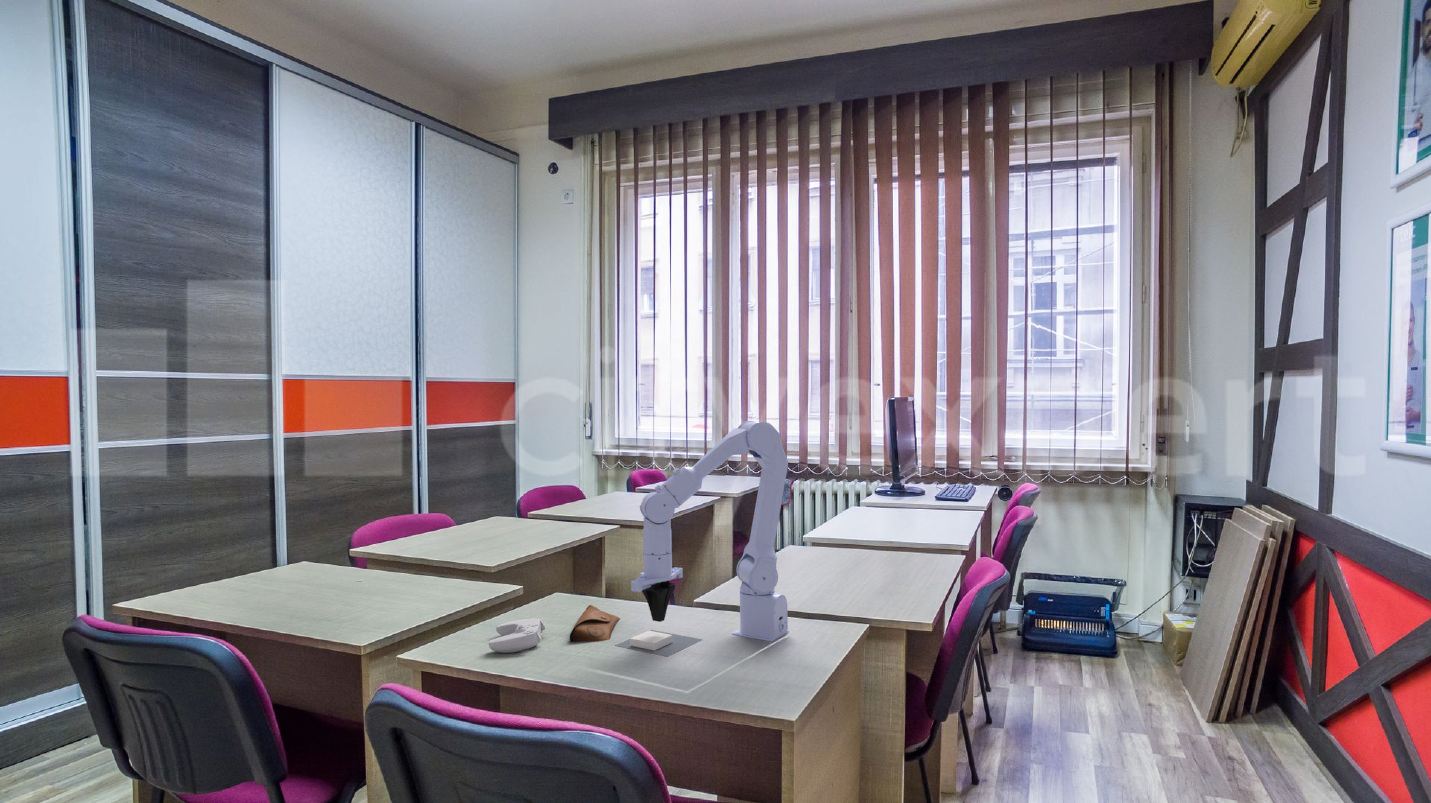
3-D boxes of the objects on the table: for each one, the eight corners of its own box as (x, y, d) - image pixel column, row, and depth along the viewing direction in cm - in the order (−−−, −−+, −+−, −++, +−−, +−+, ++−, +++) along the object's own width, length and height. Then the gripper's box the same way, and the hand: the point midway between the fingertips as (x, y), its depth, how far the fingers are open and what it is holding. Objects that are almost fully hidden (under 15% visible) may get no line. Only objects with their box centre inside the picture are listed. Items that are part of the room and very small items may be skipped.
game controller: (496, 620, 162) (543, 607, 163) (501, 640, 162) (548, 627, 163) (484, 640, 147) (536, 627, 149) (490, 663, 148) (541, 649, 149)
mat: (703, 641, 155) (702, 639, 155) (667, 658, 145) (667, 656, 145) (651, 631, 162) (651, 629, 162) (614, 647, 152) (614, 645, 152)
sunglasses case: (611, 643, 154) (594, 614, 154) (581, 661, 154) (564, 633, 154) (622, 618, 172) (606, 592, 172) (595, 634, 172) (579, 609, 172)
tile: (672, 634, 153) (654, 643, 148) (672, 642, 153) (654, 651, 148) (648, 630, 156) (630, 638, 151) (648, 637, 156) (630, 646, 151)
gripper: (663, 544, 162) (663, 609, 162) (618, 556, 150) (619, 626, 150) (690, 547, 158) (691, 613, 158) (647, 560, 146) (648, 631, 146)
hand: (658, 620), depth 154 cm, fingers closed
